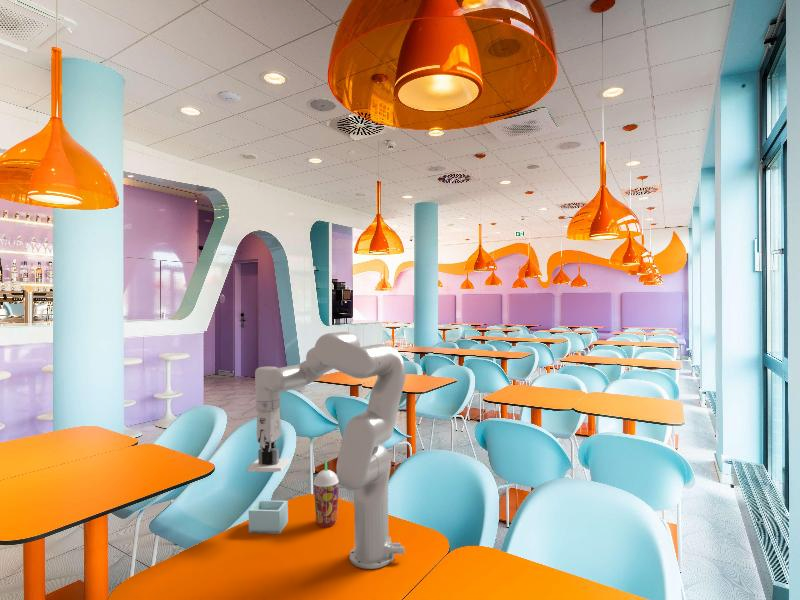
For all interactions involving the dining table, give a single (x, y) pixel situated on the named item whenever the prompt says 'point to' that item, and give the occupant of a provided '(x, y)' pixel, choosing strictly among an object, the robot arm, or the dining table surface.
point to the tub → (268, 516)
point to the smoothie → (326, 497)
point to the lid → (274, 467)
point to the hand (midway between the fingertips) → (269, 461)
